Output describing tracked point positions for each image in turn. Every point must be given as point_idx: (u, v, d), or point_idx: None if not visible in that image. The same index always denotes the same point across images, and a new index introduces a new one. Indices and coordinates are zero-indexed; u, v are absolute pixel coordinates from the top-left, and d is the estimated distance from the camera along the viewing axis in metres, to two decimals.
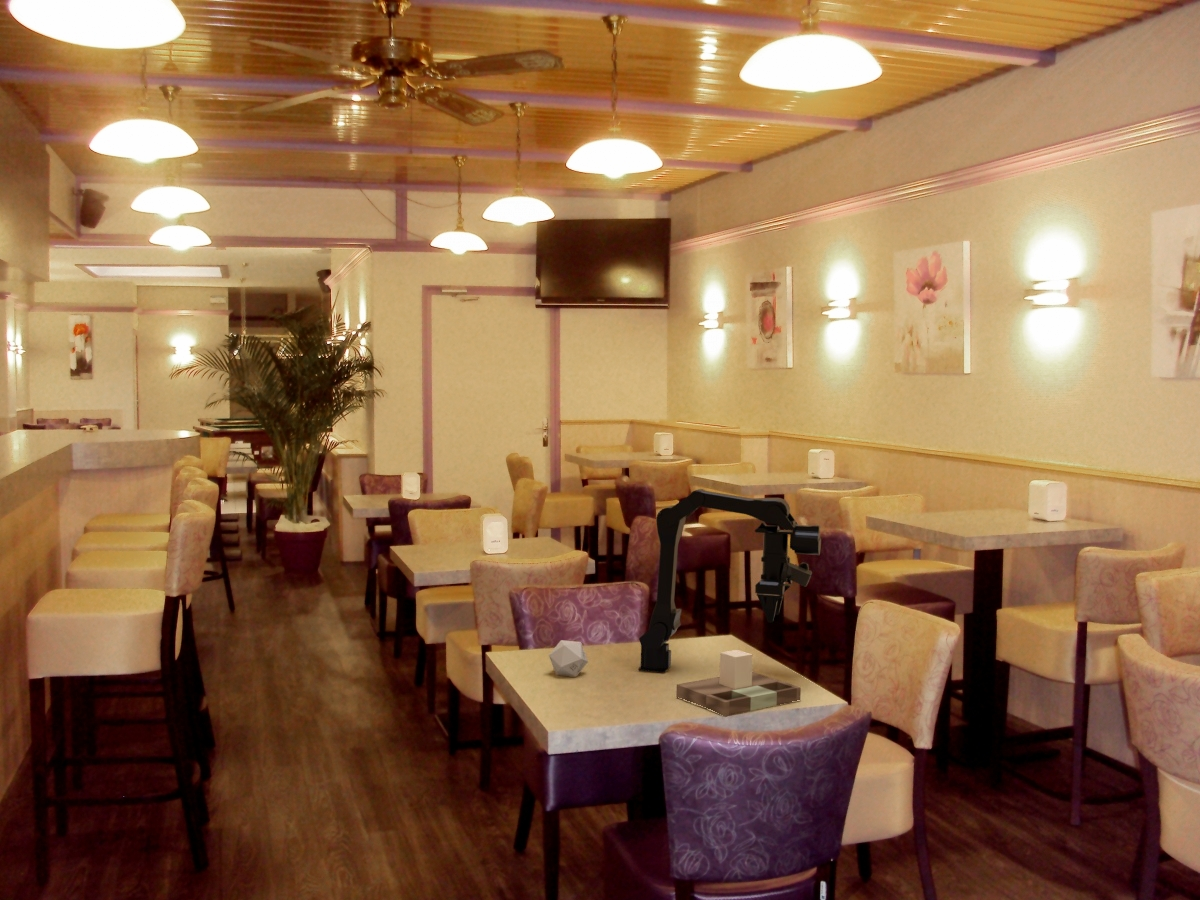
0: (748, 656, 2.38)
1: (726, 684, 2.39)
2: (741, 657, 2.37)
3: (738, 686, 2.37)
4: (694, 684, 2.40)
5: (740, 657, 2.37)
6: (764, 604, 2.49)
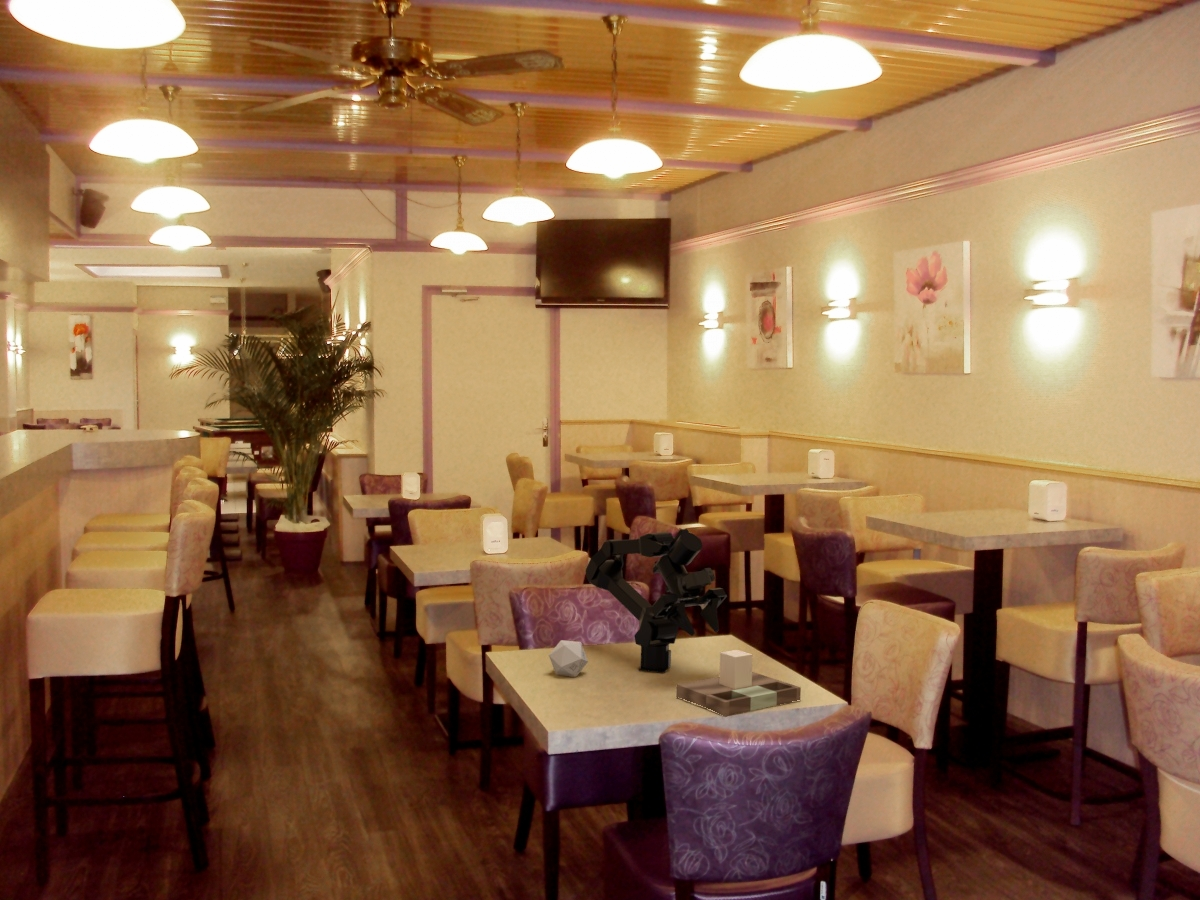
0: (748, 656, 2.38)
1: (726, 684, 2.39)
2: (741, 657, 2.37)
3: (738, 686, 2.37)
4: (694, 684, 2.40)
5: (740, 657, 2.37)
6: (677, 622, 2.49)
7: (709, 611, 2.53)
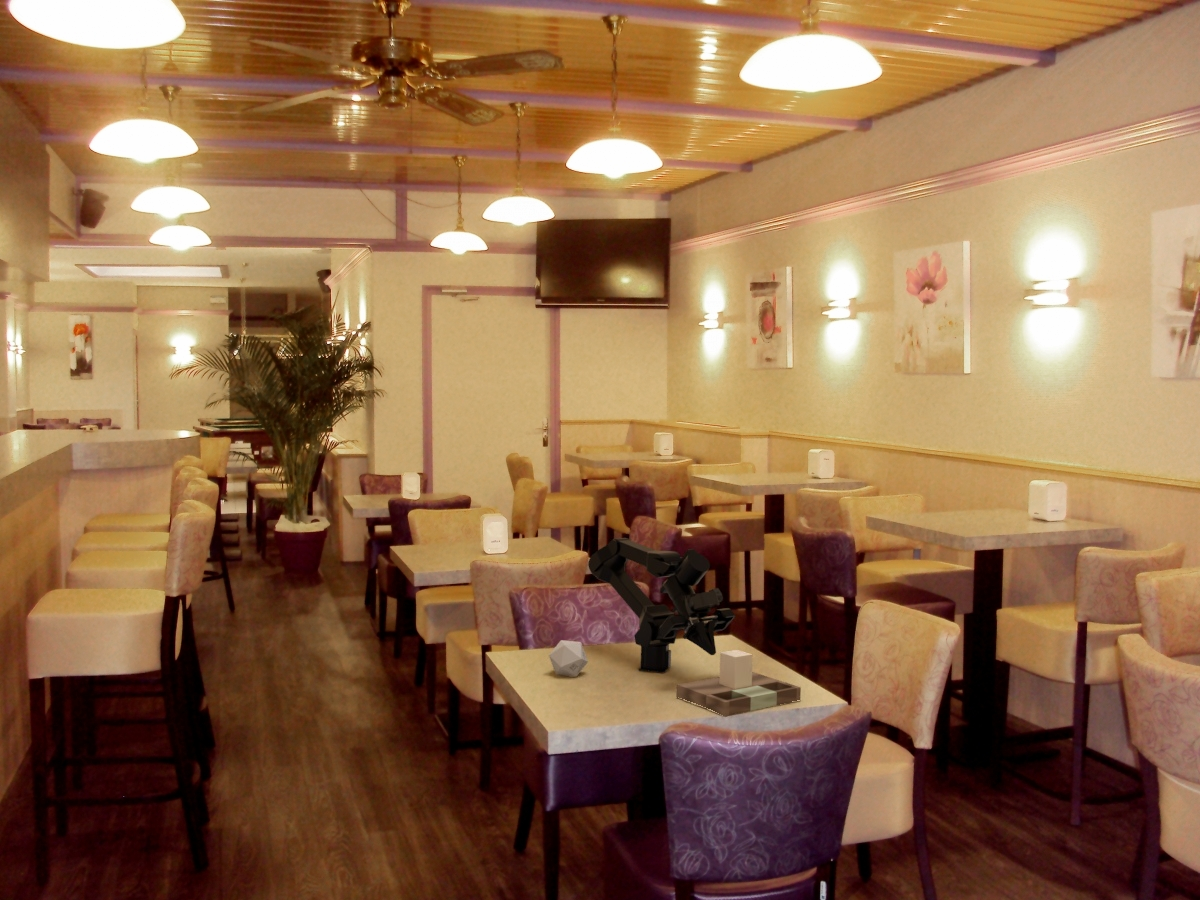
0: (748, 656, 2.38)
1: (726, 684, 2.39)
2: (741, 657, 2.37)
3: (738, 686, 2.37)
4: (694, 684, 2.40)
5: (740, 657, 2.37)
6: (696, 642, 2.48)
7: (706, 633, 2.49)
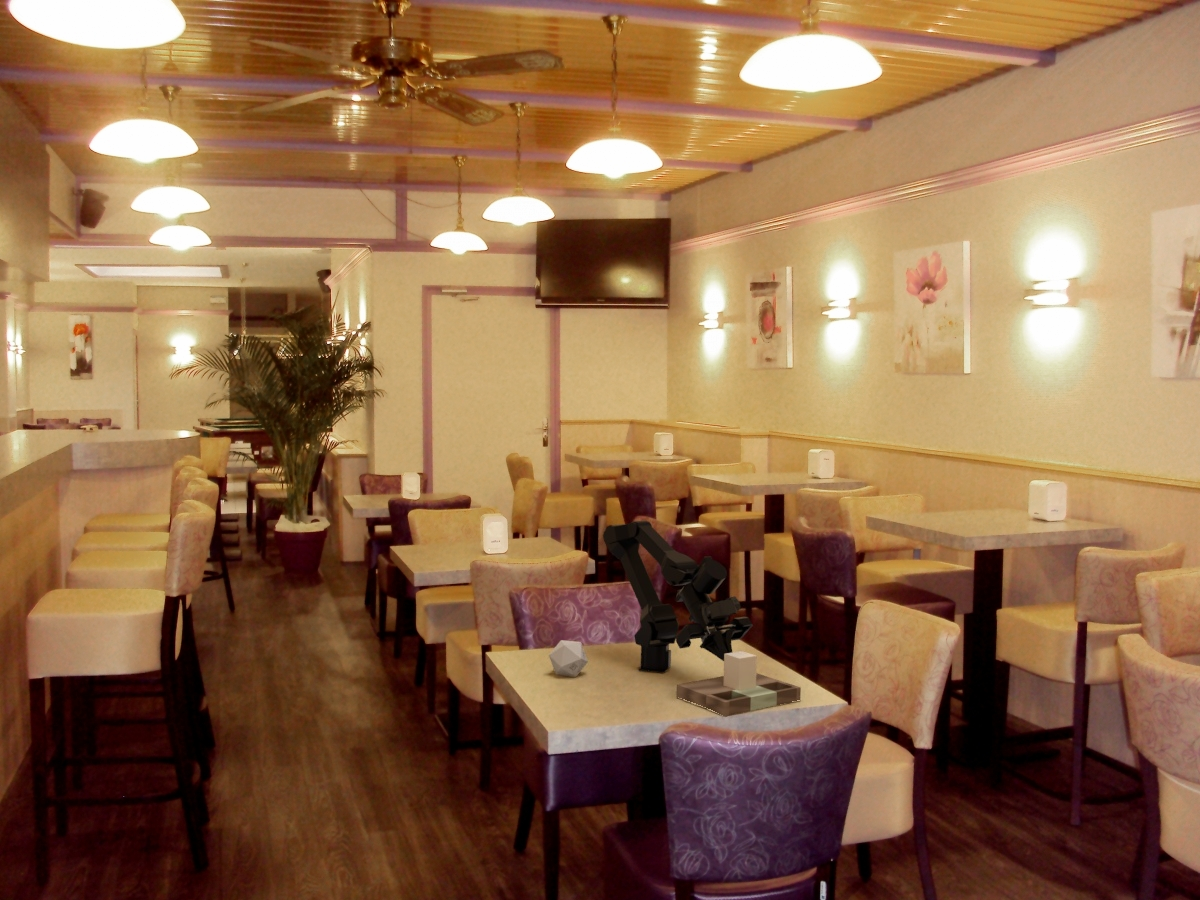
0: (752, 657, 2.37)
1: (730, 685, 2.38)
2: (745, 658, 2.36)
3: (742, 687, 2.36)
4: (694, 684, 2.40)
5: (744, 658, 2.36)
6: (714, 651, 2.43)
7: (723, 643, 2.44)
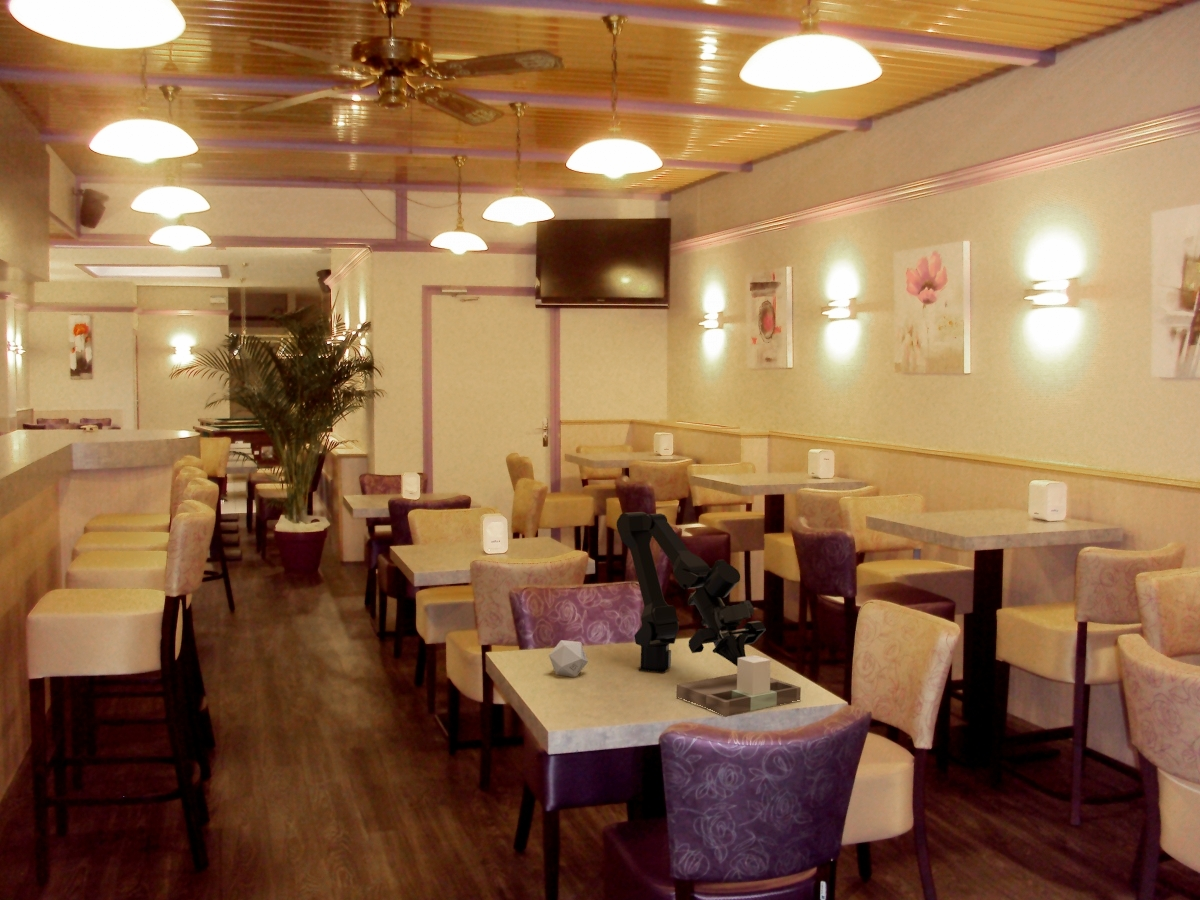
0: (766, 662, 2.34)
1: (744, 690, 2.34)
2: (759, 663, 2.33)
3: (756, 692, 2.33)
4: (694, 684, 2.40)
5: (758, 663, 2.32)
6: (727, 656, 2.40)
7: (736, 647, 2.40)
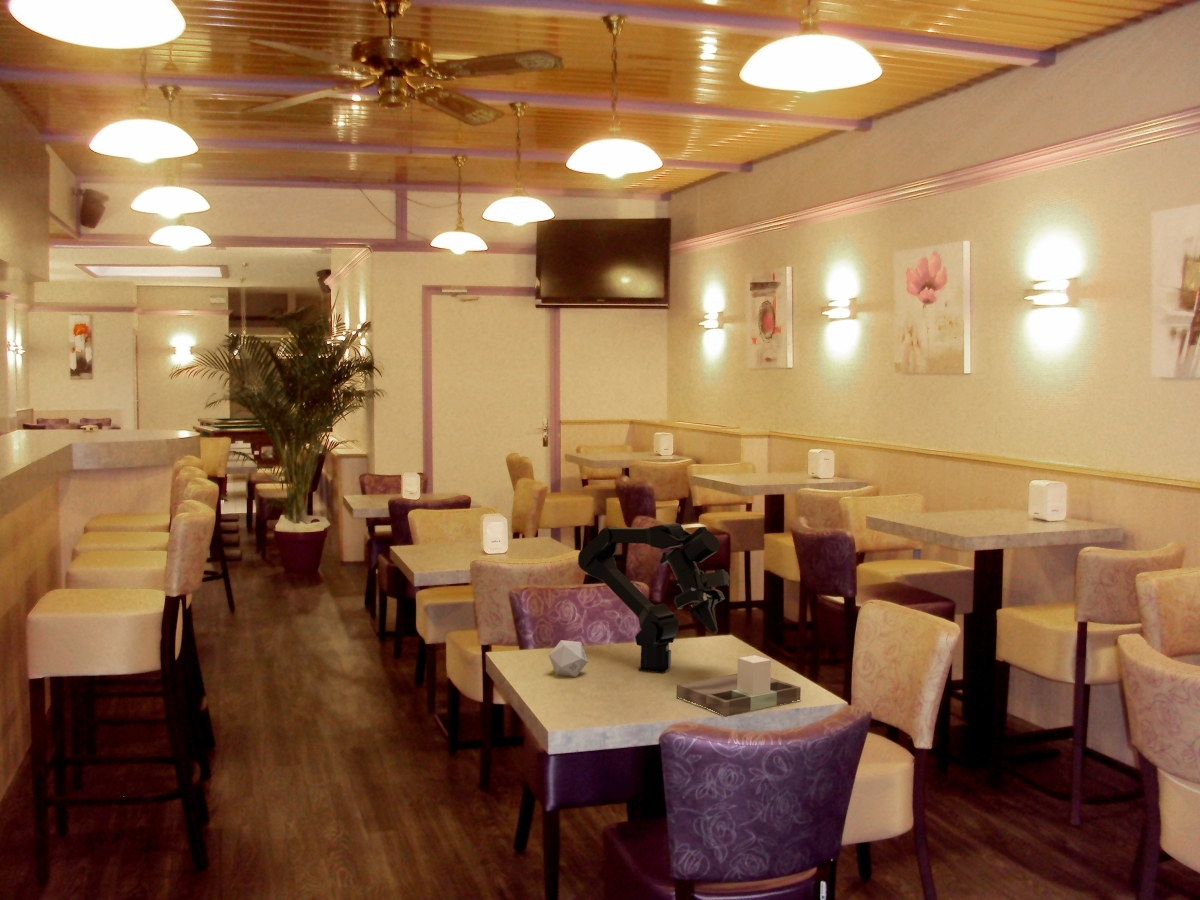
0: (766, 662, 2.34)
1: (744, 690, 2.34)
2: (759, 663, 2.33)
3: (756, 692, 2.33)
4: (694, 684, 2.40)
5: (758, 663, 2.32)
6: (700, 617, 2.52)
7: None
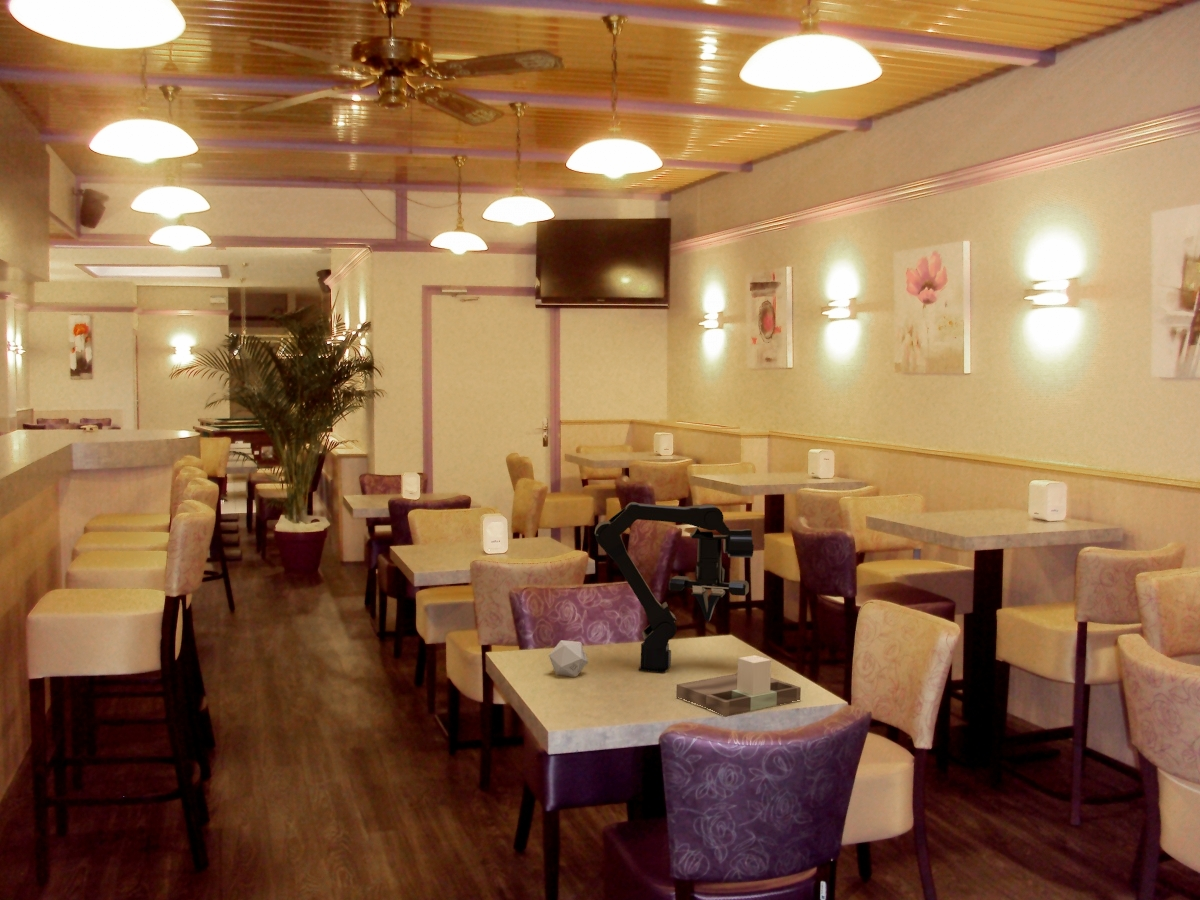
0: (766, 662, 2.34)
1: (744, 690, 2.34)
2: (759, 663, 2.33)
3: (756, 692, 2.33)
4: (694, 684, 2.40)
5: (758, 663, 2.32)
6: (714, 604, 2.62)
7: (706, 599, 2.64)
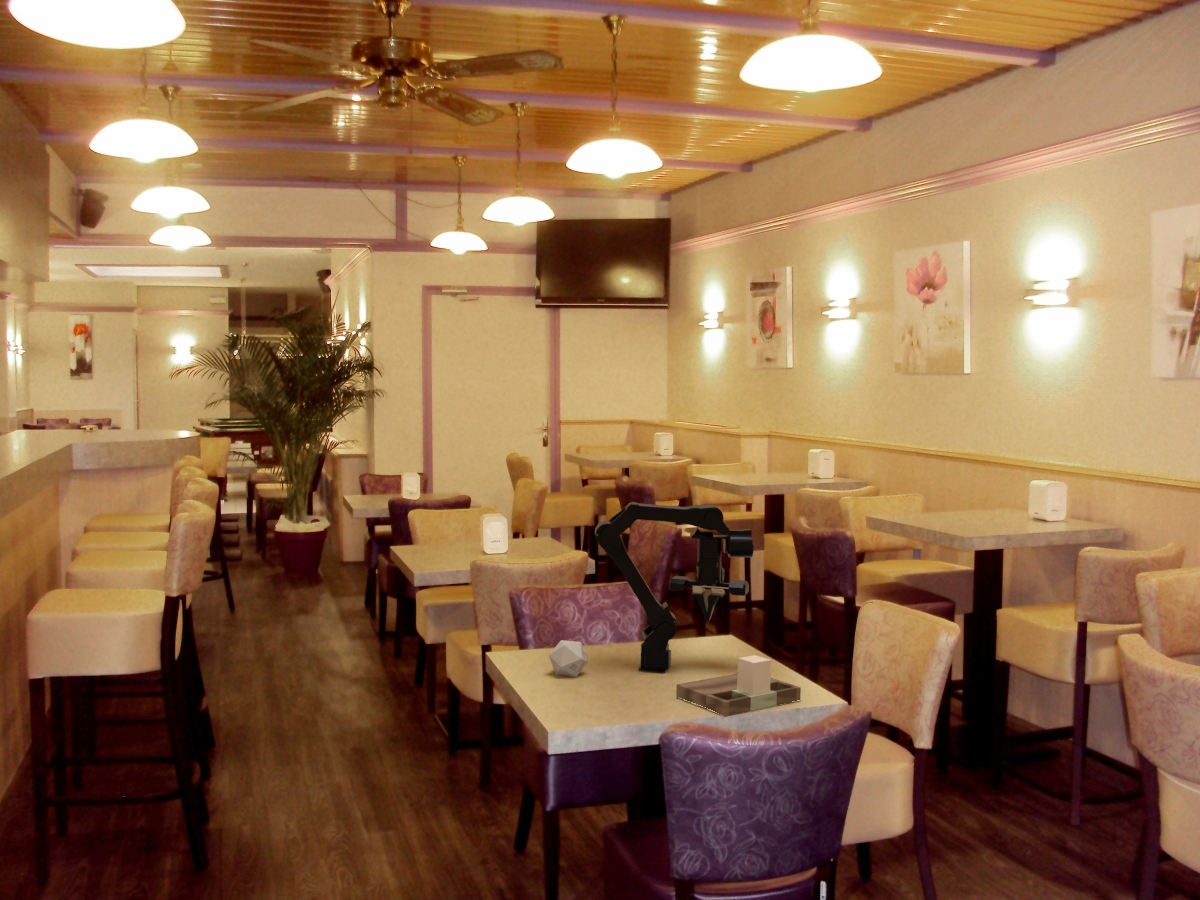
0: (766, 662, 2.34)
1: (744, 690, 2.34)
2: (759, 663, 2.33)
3: (756, 692, 2.33)
4: (694, 684, 2.40)
5: (758, 663, 2.32)
6: (714, 604, 2.62)
7: (706, 599, 2.64)
